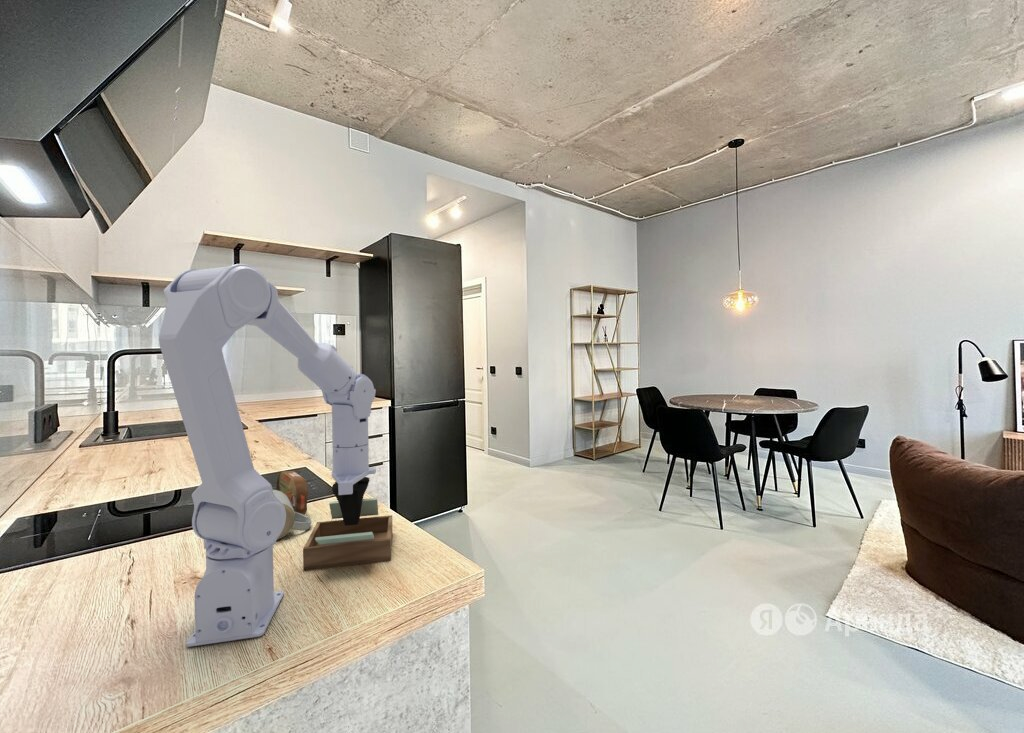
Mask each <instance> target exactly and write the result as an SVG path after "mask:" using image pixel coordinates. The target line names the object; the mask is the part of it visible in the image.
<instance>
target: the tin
mask: <svg viewBox="0 0 1024 733" xmlns="http://www.w3.org/2000/svg"><path fill="white" fill-rule="evenodd" d="M308 488H309V487H308V483H307V480H306V478H304V477H303V476H301V475H300V474H298V473H297V472H296V471H294V470H289V471H286V470H285V471H280V472H279V473H278V476H277V479H276V489H275V490H277V491H280V492H282V493H284V494H285V495H286V496H287V497H288V499H289V501H290V503H291V505H292V507H293V509H294V512H298V513H300V514H303V515H305V516H306V514H307V510H308V497H309V496H308V495H309V494H308V493H309V489H308Z"/></svg>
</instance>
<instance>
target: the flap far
mask: <svg viewBox="0 0 1024 733" xmlns="http://www.w3.org/2000/svg"><path fill="white" fill-rule="evenodd" d="M329 511H330V515H331V520H336V519H343V517H342V512H341V508H340V505H339V502H338V500H336V501H334V500H333V501H329ZM378 515H379V503H378V497H373V498H363V501H362V507H361V514H360V517H372V516H378Z"/></svg>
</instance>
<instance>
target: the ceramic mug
mask: <svg viewBox="0 0 1024 733" xmlns="http://www.w3.org/2000/svg"><path fill="white" fill-rule="evenodd" d="M273 492H274V495H275V496H276V498H277V499H278V500H280V501H281V502H282V504H283V505H284V507H285V510H286V521H285V525H284V528H283V530H282V532H281V534H280V536H279V537H278V538H277V540H276V541H278V540H280V539H282V538H284V537H285V536H287V535H288V534H289V533H290V532H291V530H294V531H302V532H303V531H304V532H305V531H308V530H309V528H310V527H311V524H312V519H311V518H310V517H309V516H307V515H306V514H305V515H303V514H300V513H298V512H294V509H293V507H292V505H291V503H290V501H289V499H288V497H287V496H286V495H285V494H284V493H282V492H280V491H277V490H276V489H273Z"/></svg>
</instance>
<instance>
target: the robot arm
mask: <svg viewBox="0 0 1024 733" xmlns="http://www.w3.org/2000/svg"><path fill="white" fill-rule="evenodd" d="M267 279H268V278H266V277H265V275H264V274H263V273H262V272H261V271H260V270H259V269H258V268H256V267H254V266H253V265H250V264H247V263H236V264H231V265H229V266H222V267H221V266H220V267H214V268H213V267H212V268H203V269H198V268H197V269H187V270H184V271H183V272H181V273H180V274H178V275H177V276H176V277H175V278H173V280H172V281H171V282H170V283H169V284H168V285H167V286H166V287H165V288H164V289H163V295H164V297H165V298H164V299H165V301H166V307H165V310H164V314H163V319H162V323H161V325H160V326H161V327H160V330H159V335H158V345H159V348H160V351H161V353H162V354H161V355H162V357H163V360H164V363H165V364H164V365H165V367H166V371H167V373H168V377H169V380H170V383H171V387H172V389H173V393H174V396H175V399H176V402H177V406H178V410H179V412H180V416H181V419H182V422H183V425H184V428H185V429H184V430H185V431H186V435H187V439H188V441H189V445H190V448H191V451H192V454H193V457H194V460H195V464H196V468H197V470H198V474H199V477H200V481H201V483H200V485H198V487H196V489H195V490H194V491H193V492H192V493H191V498H192V501H193V505H194V506H193V512H192V513H193V514H192V517H191V526H192V530H193V532H194V533H195V535H196V536H197V537H198V538H199V539H203V548H204V550H205V567H206V568H205V570H204V572H203V573H204V574H203V575H202V578H200V580H199V581H198V584H197V585H196V588H195V590H194V628H195V629H194V632H193V633H192V634H191V635H190V637H189V638H188V639H187V640H186V642H185V646H186V647H196V646H197V647H198V646H203V645H211V644H217V643H222V642H223V643H224V642H231V641H237V640H238V641H239V640H245V639H250V638H251V639H253V638H259V637H261V636H263V635H264V634H265V633H266V631H267V628H268V626H269V625H270V622H271V621H272V619H273V617H274V615H275V613H276V611H277V609H278V606H279V604H280V603H281V600H282V599H283V597H284V595H285V592H284V590H277V591H274V590H275V589H274V587H275V586H274V584H275V582H274V546H275V545H276V544H277V541H278V540H277V538H278V537H279V536H280V534H281V532H282V530H283V528H284V525H285V521H286V510H285V507H284V505H283V504H282V502H281V501H280V500H278V499H277V498H276V496H275V495H274V492H273V490H274V489H273V486H272V483H270V482H269V480H267V479H266V478H264V477H263V475H261V474H260V473H259V472H258V471H257V470H256V469H255V468H254V467H255V466H254V464H253V460H252V457H251V456H252V455H251V452H250V449H249V445H248V441H247V437H246V434H245V431H244V426H243V424H242V420H241V416H240V412H239V409H238V405H237V402H236V398H235V393H234V390H233V386H232V382H231V379H230V376H229V372H228V368H227V365H226V360H225V357H224V353H223V348H224V347H225V345H226V344H227V343H228V342H229V340H230V339H231V338H232V336H234V334H235V332H237V331H238V330H240V329H242V328H243V327H244V326H246V325H247V326H255V327H258V329H260V330H261V331H262V332H263V333H265V334H266V335H268V337H270V338H271V339H273V340H274V341H275V342H276V343H278V344H279V345H280V346H282V347H283V348H284V349H285V350H287V351H288V353H289V352H290V354H292V355H293V356H294V357H295V358H297V368H298V370H299V371H300V373H302V374H303V375H304V376H305V377H307V379H309V380H310V381H311V382H312V383H313V384H314V385H316V386H317V387H318V388H319V390H320V391H321V392H322V397H323V400H324V402H325V403H326V404H327V405H329V406H331V434H332V435H331V438H332V439H331V440H332V445H331V446H332V448H331V449H332V470H331V478H332V479H333V480H334V481H335V482H334V483H333V484H332V485H331V491H332V493H333V495H334V496H335V498H336V501H338V502H339V505H340V508H341V512H342V517H343V518H342V520H343V521H344V524H345V526H348V525H357V524H358V522H359V519H360V518H361V516H360V514H361V507H362V501H363V499H364V495H365V493H366V491H367V489H368V487H369V483H370V477H369V475H374V474H376V472H377V467H375V466H371V467H370V466H369V465H370V464H369V463H370V460H369V458H370V457H369V456H370V455H369V452H370V451H369V417H370V416H371V414H372V404H373V402H374V401H375V397H376V391H377V389H376V388H375V387H374V383H373V381H372V380H371V378H369V377H368V376H367V375H366V374H363V373H357V372H356V370H355V369H354V367H353V365H351V364H350V363H349V364H348V362H347V361H346V360H345V359H344V358H343V357H342V356H341V355H340V354H339V353H338V352H337V350H338V349H337V348H336V346H334V344H328V343H325V342H316V341H315V339H314V338H313V337H312V336H311V335H310V334H309V332H308V331H307V330H306V329H305V328H304V327H303V326H302V325H301V324H300V322H299V321H298V320H297V319H296V318H295V317H294V316H293V314H292V313H290V311H289V309H287V308H286V306H285V305H284V304H283V303H282V302H281V300H280V299H279V294H278V288H277V287H276V285H274V284H273V283H271V282H270V281H268V280H267Z"/></svg>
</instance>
